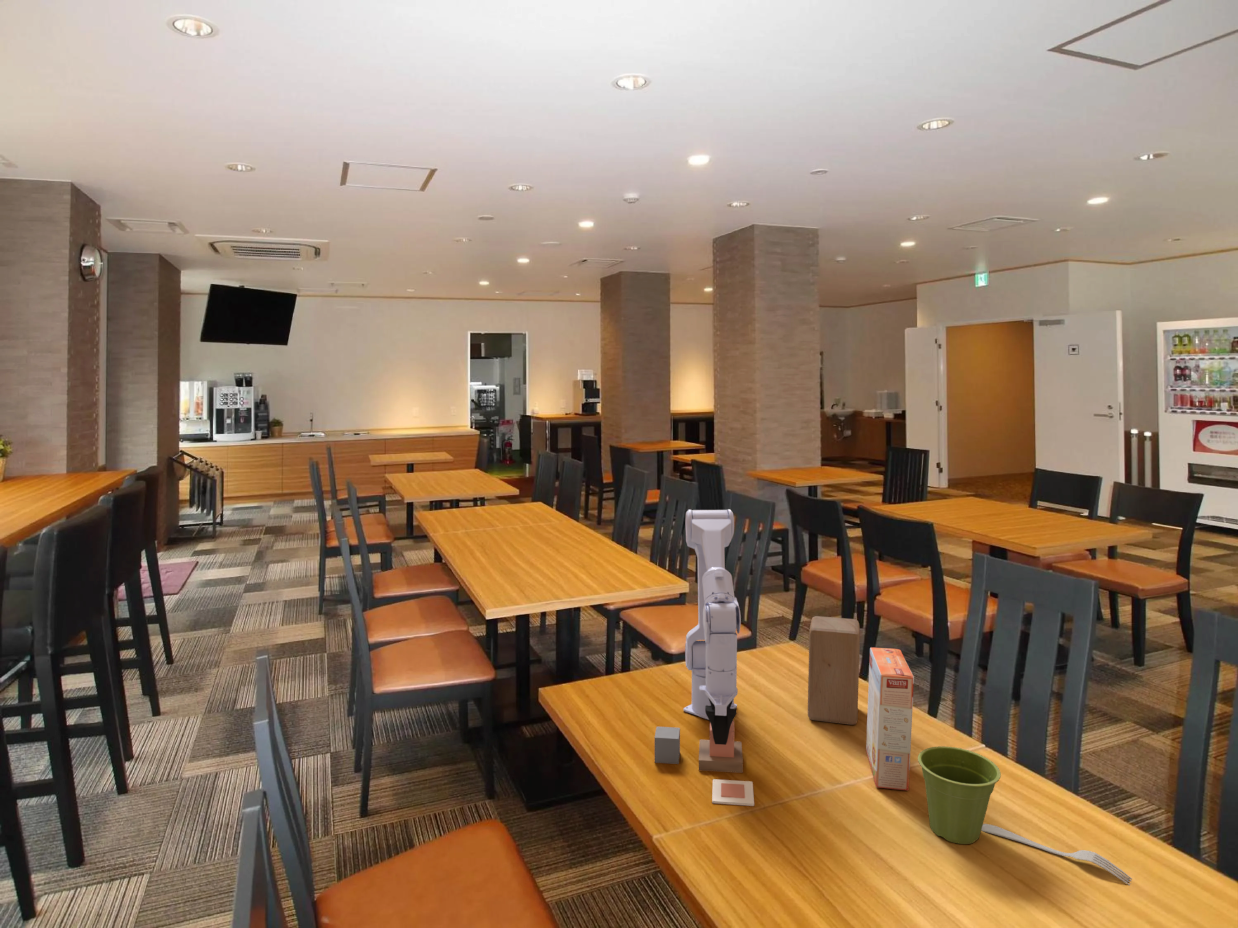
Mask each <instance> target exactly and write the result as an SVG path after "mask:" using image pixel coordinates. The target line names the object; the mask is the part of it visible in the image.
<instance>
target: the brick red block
mask: <svg viewBox="0 0 1238 928" xmlns="http://www.w3.org/2000/svg"><path fill="white" fill-rule="evenodd" d="M709 740H710V755H709V756H717V757H733V758H734V741H735V720H733V721H732V723H731V726H730V730H729V735H728V740H727V743H726V745H722V744H715V742H714V738H713V732H712V727H711V723H710V722H709Z"/></svg>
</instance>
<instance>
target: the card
mask: <svg viewBox="0 0 1238 928" xmlns="http://www.w3.org/2000/svg"><path fill="white" fill-rule="evenodd" d="M753 783H754V782H753V781H749V780H745V781H744V780H735V779H734V780H733V779H731V780H729V779H716V778H715V779H714V778H713V779H712V793H711V794H712V796H711V797H712V798H711V799H712V800H711V801H712V802H711V803H712V804H719V805H720V804H721V805H735V806H748V807H749V806H750V807H754V806H755V799H754V797H755V796H754V795H755V794H754V784H753Z"/></svg>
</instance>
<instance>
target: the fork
mask: <svg viewBox="0 0 1238 928" xmlns="http://www.w3.org/2000/svg"><path fill="white" fill-rule="evenodd" d="M981 832H984V833H987V834H992V835H995V836H998V837H1002V838H1006V839H1009V840H1012V841H1014V842H1015V841H1016V842H1018V843H1022V844H1025V845H1029V846H1031V847H1034V848H1037V849H1039V850H1043V851H1046V852H1048V853H1051V854H1055V855H1059V856H1063V857H1071V858H1073V859H1075V860H1081V861H1087V862H1091V863H1093V864H1095V865H1097V866H1099V867H1100V868H1102V869H1104V870H1105V871H1107V872H1108V873H1110V874H1112V875H1113V876H1115V877H1116V878H1117V879H1119V880H1120V881H1122V882H1123V883H1124V884H1126V885H1127V884H1128V885H1127V886H1130V885H1131V883H1130V882H1131V881H1132V879H1133V877H1131V876H1130V875H1128V874H1127V873H1126V872H1125V871H1123V870H1122V869H1121V868H1119V867H1118V866H1116V865H1115V864H1114V863H1113V862H1111V861H1110V860H1108V859H1107V858H1105V857H1104V856H1102V855H1100V854H1098V853H1096V852H1094V851H1091V850H1084V849H1082V850H1081V849H1080V850H1077V851H1076V852H1075V851H1074V852H1064V851H1060V850H1057V849H1054V848H1052V847H1048V846H1045V845H1043V844H1040V843H1038V842H1036V841H1033V840H1032V839H1031V840H1030V839H1029V838H1026V837H1024V836H1021V835H1018V834H1017V833H1014V832H1012V831H1010V830H1007V829H1004V828H1002V827H999V826H997V825H994V824H990V823H989V824H988V823H983V825H982V829H981ZM1129 880H1130V881H1129ZM1128 882H1129V883H1128Z"/></svg>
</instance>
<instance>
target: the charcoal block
mask: <svg viewBox="0 0 1238 928" xmlns="http://www.w3.org/2000/svg"><path fill="white" fill-rule="evenodd" d="M680 753H681V727H675V726H674V727H673V726H672V727H671V726H656V728H655V734H654V763H657V764H659V763H660V764H670V765H671V764H672V765H674V764H675V765H676V764H677V765H679V763H680Z"/></svg>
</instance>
